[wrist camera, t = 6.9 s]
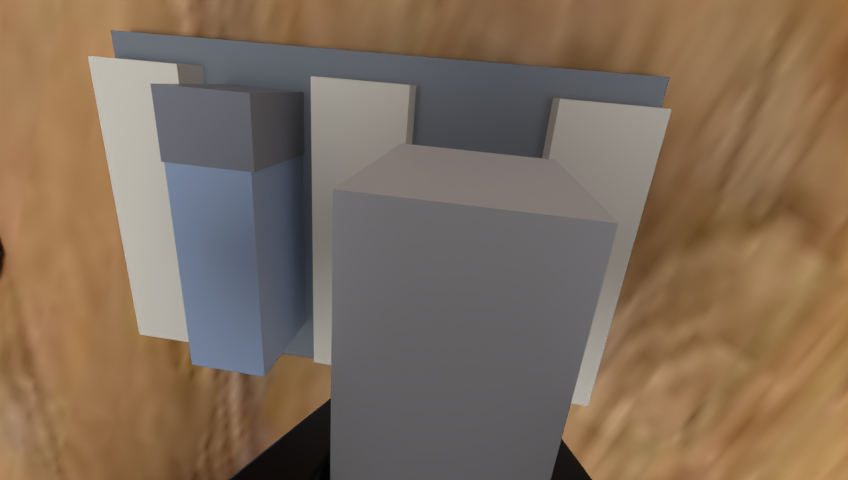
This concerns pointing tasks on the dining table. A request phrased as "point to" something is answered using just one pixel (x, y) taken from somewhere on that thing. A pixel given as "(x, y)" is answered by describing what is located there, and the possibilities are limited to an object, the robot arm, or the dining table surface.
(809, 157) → the dining table surface
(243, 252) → the grey rectangular bar
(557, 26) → the dining table surface
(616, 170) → the rack
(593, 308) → the grey white bar
